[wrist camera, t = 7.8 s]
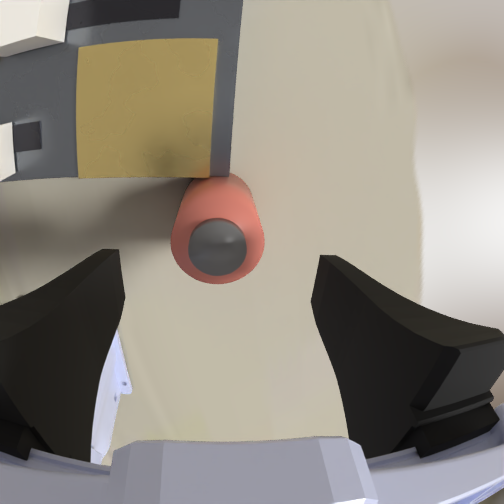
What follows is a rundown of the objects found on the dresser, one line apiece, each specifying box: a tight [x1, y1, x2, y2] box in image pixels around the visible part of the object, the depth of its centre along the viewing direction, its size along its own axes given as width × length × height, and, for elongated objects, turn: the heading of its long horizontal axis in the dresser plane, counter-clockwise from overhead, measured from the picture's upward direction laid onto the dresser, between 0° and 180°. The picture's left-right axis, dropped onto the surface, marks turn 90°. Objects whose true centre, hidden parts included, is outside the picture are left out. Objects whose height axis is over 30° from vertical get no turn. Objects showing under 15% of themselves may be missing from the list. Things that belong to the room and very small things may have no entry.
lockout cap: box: [171, 173, 264, 284], centre depth 16 cm, size 4×4×6 cm
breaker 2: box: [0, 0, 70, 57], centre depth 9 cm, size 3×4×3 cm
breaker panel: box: [0, 0, 243, 182], centre depth 13 cm, size 12×16×2 cm
